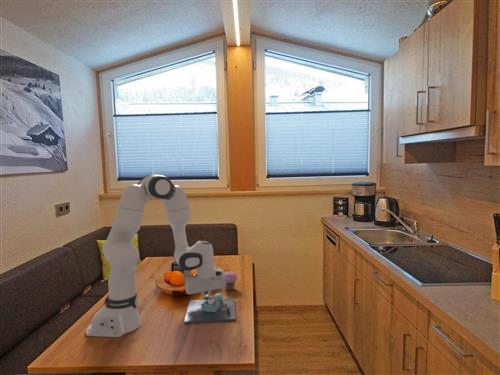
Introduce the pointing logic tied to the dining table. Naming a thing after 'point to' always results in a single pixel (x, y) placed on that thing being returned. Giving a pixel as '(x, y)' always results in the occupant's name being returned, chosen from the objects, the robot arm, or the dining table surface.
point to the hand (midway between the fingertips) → (206, 299)
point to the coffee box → (180, 270)
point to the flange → (212, 308)
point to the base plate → (221, 315)
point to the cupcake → (230, 280)
